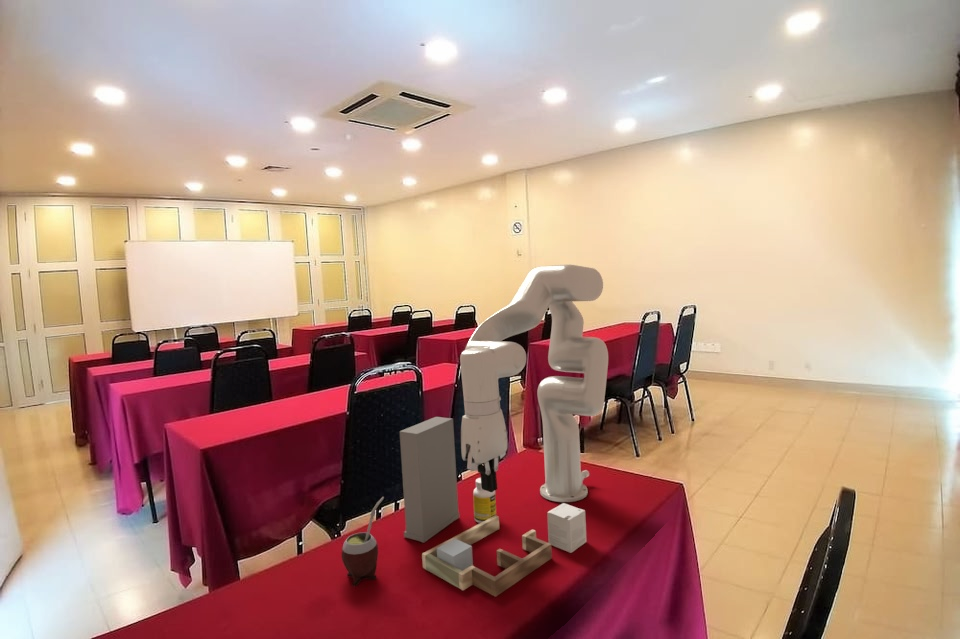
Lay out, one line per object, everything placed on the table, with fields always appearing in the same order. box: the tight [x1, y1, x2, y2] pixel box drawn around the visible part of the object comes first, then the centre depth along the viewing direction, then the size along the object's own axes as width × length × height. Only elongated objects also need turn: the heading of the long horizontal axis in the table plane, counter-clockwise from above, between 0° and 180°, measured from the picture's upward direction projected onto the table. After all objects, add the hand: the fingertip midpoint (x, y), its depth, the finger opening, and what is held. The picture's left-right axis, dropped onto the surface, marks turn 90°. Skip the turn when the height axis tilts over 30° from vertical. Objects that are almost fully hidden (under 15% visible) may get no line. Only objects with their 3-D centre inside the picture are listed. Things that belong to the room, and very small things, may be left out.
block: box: [437, 539, 474, 571], centre depth 102 cm, size 5×5×5 cm
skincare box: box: [546, 502, 587, 554], centre depth 110 cm, size 6×6×7 cm
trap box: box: [421, 514, 553, 597], centre depth 105 cm, size 22×18×3 cm
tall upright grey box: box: [399, 416, 460, 544], centre depth 120 cm, size 14×6×25 cm, turn 147°
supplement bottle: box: [472, 477, 497, 524], centre depth 124 cm, size 5×5×10 cm
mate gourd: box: [341, 496, 385, 587], centre depth 102 cm, size 8×8×15 cm
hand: (489, 489), depth 109 cm, fingers closed
